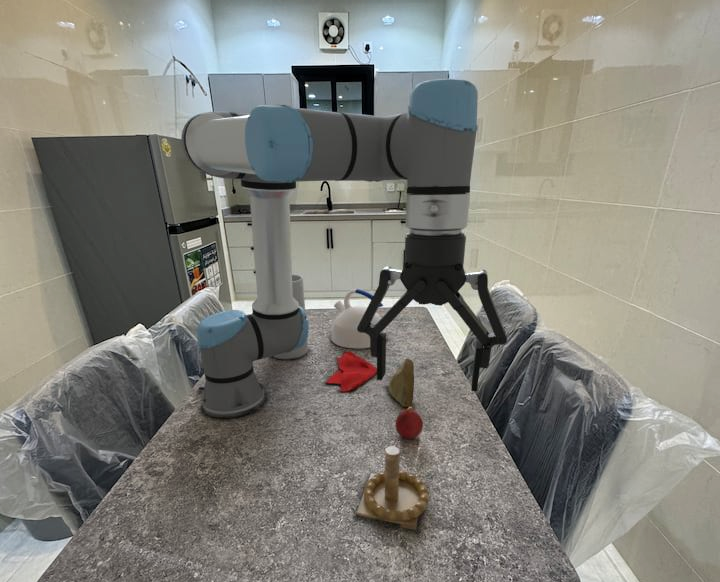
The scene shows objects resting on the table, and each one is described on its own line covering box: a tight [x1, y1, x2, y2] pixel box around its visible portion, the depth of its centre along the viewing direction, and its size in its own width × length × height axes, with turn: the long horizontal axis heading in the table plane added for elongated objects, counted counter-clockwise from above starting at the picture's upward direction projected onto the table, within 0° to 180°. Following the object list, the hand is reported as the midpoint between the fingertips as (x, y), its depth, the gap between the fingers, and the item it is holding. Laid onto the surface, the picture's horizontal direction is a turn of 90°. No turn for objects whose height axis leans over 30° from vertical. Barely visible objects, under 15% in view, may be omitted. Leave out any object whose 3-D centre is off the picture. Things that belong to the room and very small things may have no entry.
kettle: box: [330, 288, 388, 350], centre depth 136 cm, size 20×21×18 cm
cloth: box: [326, 350, 377, 393], centre depth 115 cm, size 26×14×2 cm, turn 171°
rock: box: [387, 358, 415, 408], centre depth 99 cm, size 11×9×10 cm
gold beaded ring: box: [363, 470, 430, 522], centre depth 67 cm, size 11×11×2 cm
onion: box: [394, 406, 424, 440], centre depth 83 cm, size 6×6×8 cm
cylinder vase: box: [272, 273, 309, 360], centre depth 123 cm, size 12×12×25 cm
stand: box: [355, 445, 420, 531], centre depth 65 cm, size 10×10×11 cm
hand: (426, 381), depth 56 cm, fingers open, 13 cm apart
